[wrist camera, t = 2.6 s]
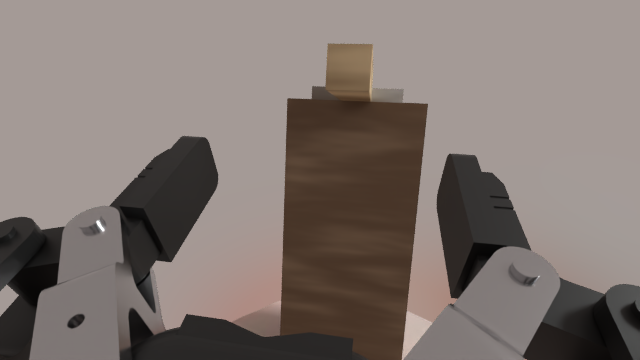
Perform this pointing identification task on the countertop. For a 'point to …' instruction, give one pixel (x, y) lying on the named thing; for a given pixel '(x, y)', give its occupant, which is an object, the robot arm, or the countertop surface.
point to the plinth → (351, 220)
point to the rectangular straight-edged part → (352, 76)
